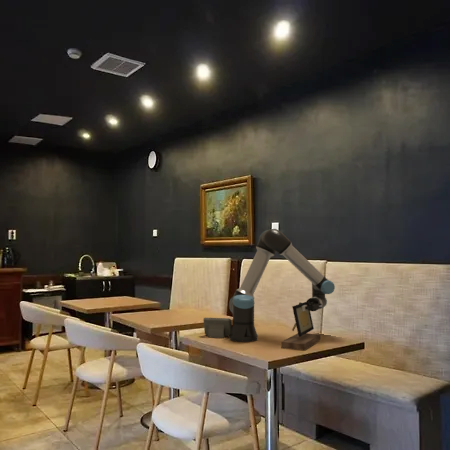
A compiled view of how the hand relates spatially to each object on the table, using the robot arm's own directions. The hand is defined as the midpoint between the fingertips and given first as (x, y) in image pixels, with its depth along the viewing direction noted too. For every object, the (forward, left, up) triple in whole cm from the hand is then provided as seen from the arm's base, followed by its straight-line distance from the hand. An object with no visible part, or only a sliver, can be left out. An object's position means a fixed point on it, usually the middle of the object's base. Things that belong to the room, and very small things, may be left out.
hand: (301, 308), depth 228 cm
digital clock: (-48, -3, -18) cm, 51 cm away
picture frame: (-2, +1, -12) cm, 13 cm away
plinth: (0, 0, -18) cm, 18 cm away
